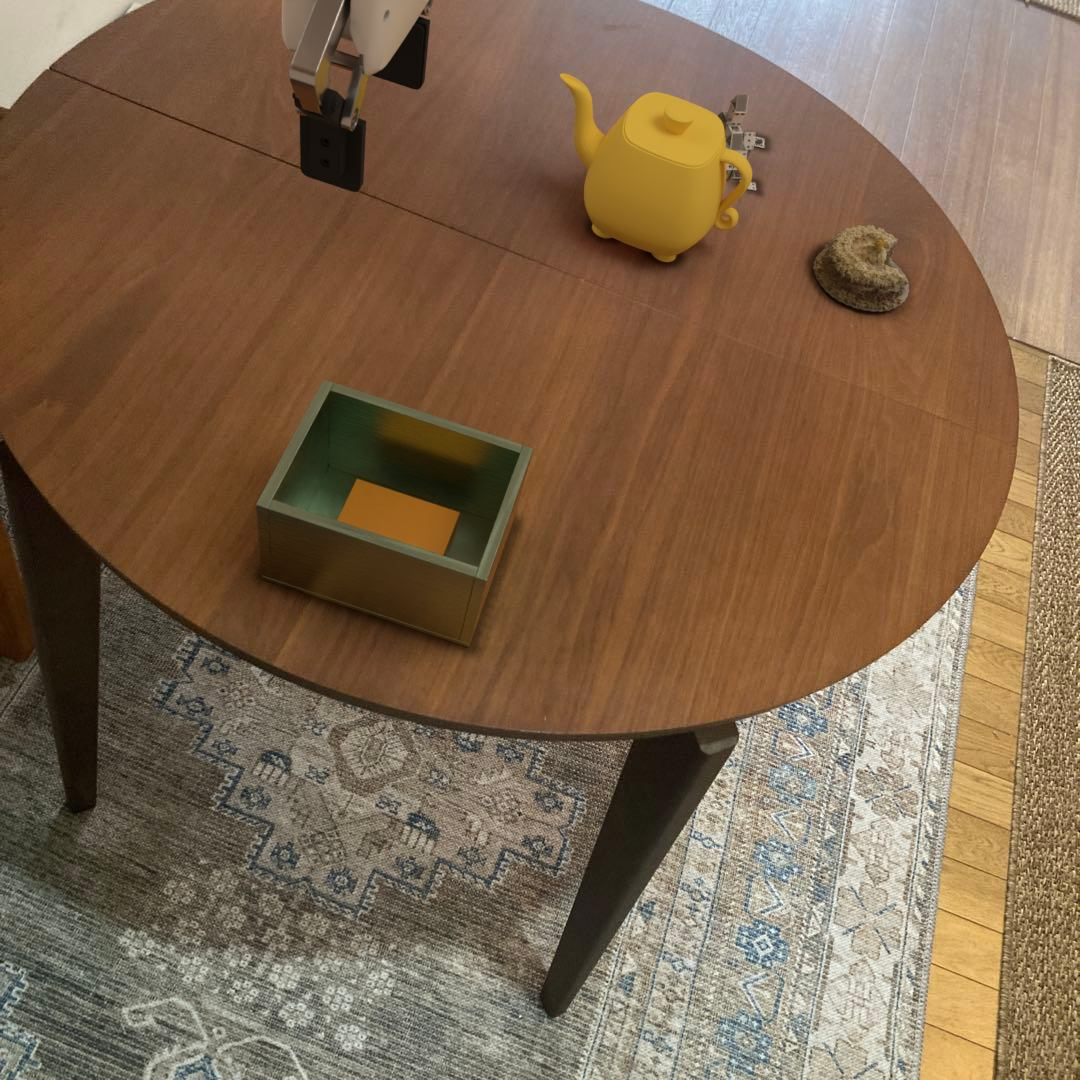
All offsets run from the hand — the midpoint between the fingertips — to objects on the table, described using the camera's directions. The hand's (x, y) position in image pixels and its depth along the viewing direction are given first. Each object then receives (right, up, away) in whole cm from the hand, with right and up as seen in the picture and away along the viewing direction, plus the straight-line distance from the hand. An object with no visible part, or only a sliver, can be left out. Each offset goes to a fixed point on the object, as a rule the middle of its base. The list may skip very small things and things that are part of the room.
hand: (365, 128), depth 56 cm
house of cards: (+31, +18, +56) cm, 66 cm away
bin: (-2, -23, +21) cm, 31 cm away
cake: (+42, +4, +48) cm, 64 cm away
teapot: (+18, +10, +47) cm, 52 cm away
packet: (-1, -23, +21) cm, 31 cm away
